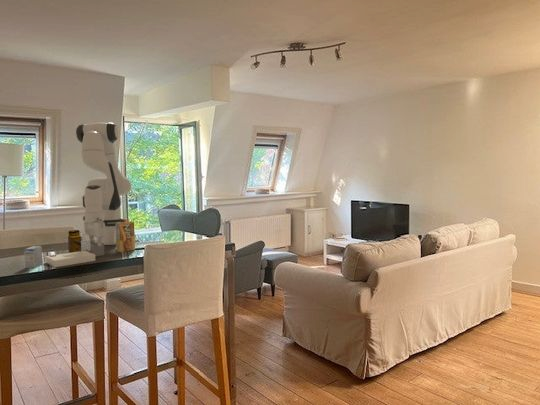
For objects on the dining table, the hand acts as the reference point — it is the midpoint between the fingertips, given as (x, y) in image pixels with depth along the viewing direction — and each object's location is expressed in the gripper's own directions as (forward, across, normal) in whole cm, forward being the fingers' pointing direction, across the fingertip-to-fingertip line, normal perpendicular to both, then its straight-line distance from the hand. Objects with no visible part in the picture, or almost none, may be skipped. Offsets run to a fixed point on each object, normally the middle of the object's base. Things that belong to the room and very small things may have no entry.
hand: (95, 244), depth 216 cm
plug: (+5, 0, -1) cm, 5 cm away
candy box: (+5, +1, -16) cm, 17 cm away
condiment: (+6, +15, +6) cm, 17 cm away
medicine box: (+6, -3, +29) cm, 30 cm away
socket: (+6, -6, +14) cm, 16 cm away
